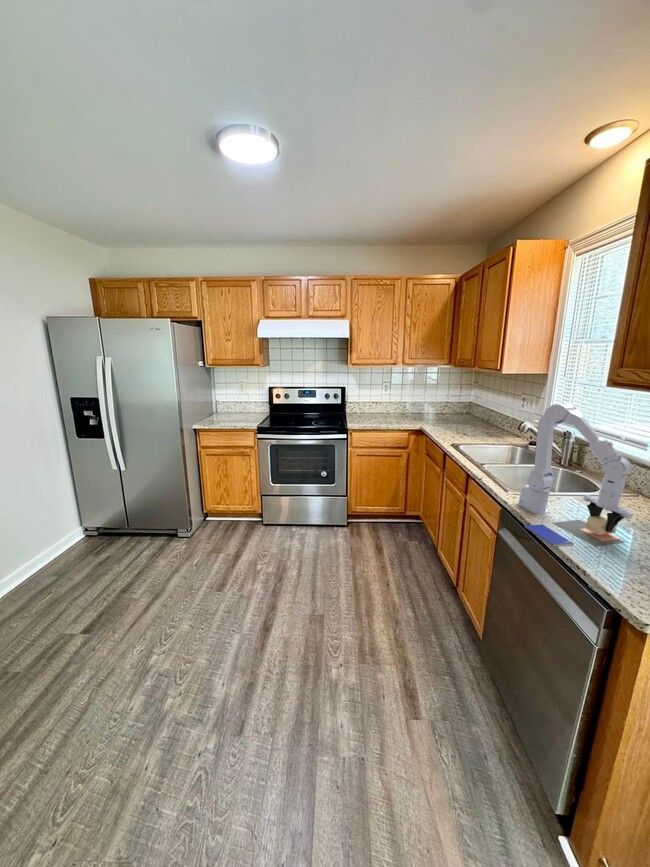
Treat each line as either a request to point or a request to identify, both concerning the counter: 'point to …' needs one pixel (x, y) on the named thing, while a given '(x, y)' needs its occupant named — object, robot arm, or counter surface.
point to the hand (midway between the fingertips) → (600, 527)
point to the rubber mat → (575, 528)
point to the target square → (601, 537)
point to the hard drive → (548, 535)
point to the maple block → (598, 525)
